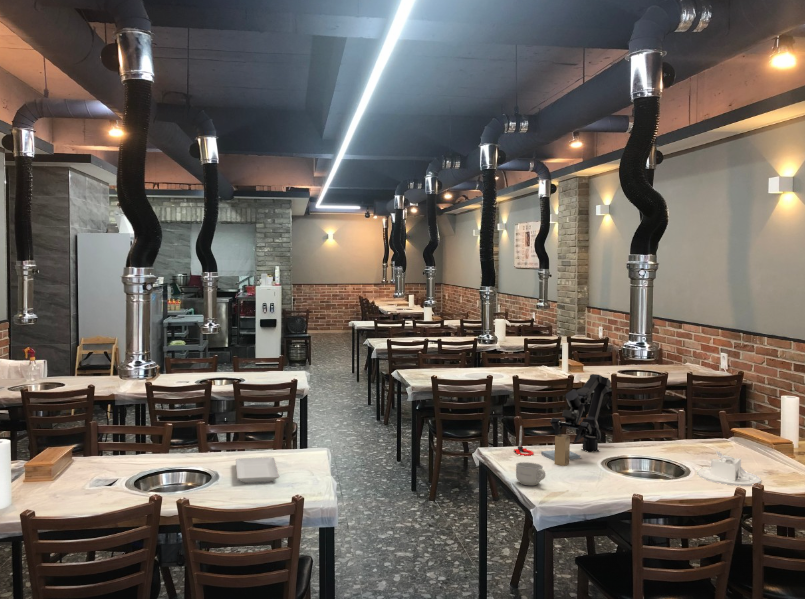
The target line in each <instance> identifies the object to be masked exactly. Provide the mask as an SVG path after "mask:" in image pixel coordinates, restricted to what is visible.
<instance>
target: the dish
mask: <svg viewBox="0 0 805 599" xmlns="http://www.w3.org/2000/svg"><path fill="white" fill-rule="evenodd" d="M715 453H716V455H717V457H719V458H717V459H716V458H712V459H710V466H709V467H702V468H699V469H697V471H696V475H697V476H698V477H699V478H700V477H701V479H702V478H703V480H705V481H708V482H712V483H715V484H719V483H721V484H720V485H725V484H727V485H726V486H733V485H735V486H736V487H751V486H752V484H754V483H760V484H762V480H761V477H760V476H759V475H757V474H754V473H751V472H749V471H746V470H745V469H744V468H743V467H742V458H741V457H738V458H737V457H736V458H735V457H733V456H730V455H727V454H726V455H725V454H724V455H723V453H722V452H720V451H718V450H716V451H715ZM739 485H741V486H739ZM735 486H734V487H735ZM752 487H753V486H752Z"/></svg>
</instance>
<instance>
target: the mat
mask: <svg viewBox="0 0 805 599" xmlns="http://www.w3.org/2000/svg"><path fill="white" fill-rule="evenodd" d="M540 454H541V455H542V456H543V455H544V456H543V457H545V458H548V459H549V460H552V461H554V462H555V449H553V450H542V451H540ZM578 458H580V459H581V455H580V454H578V453H577V452H573V451H571V450H570V455H569V459H570V460H579V459H578Z"/></svg>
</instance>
